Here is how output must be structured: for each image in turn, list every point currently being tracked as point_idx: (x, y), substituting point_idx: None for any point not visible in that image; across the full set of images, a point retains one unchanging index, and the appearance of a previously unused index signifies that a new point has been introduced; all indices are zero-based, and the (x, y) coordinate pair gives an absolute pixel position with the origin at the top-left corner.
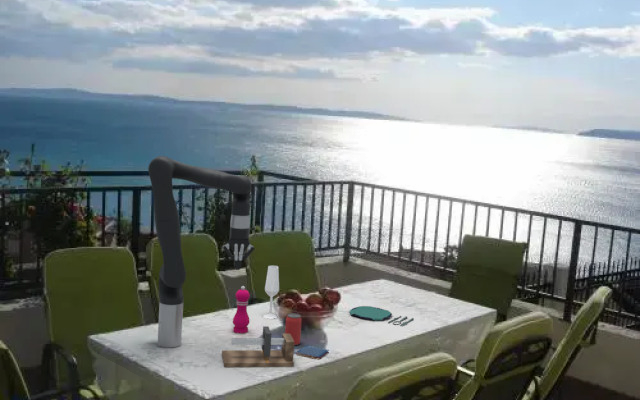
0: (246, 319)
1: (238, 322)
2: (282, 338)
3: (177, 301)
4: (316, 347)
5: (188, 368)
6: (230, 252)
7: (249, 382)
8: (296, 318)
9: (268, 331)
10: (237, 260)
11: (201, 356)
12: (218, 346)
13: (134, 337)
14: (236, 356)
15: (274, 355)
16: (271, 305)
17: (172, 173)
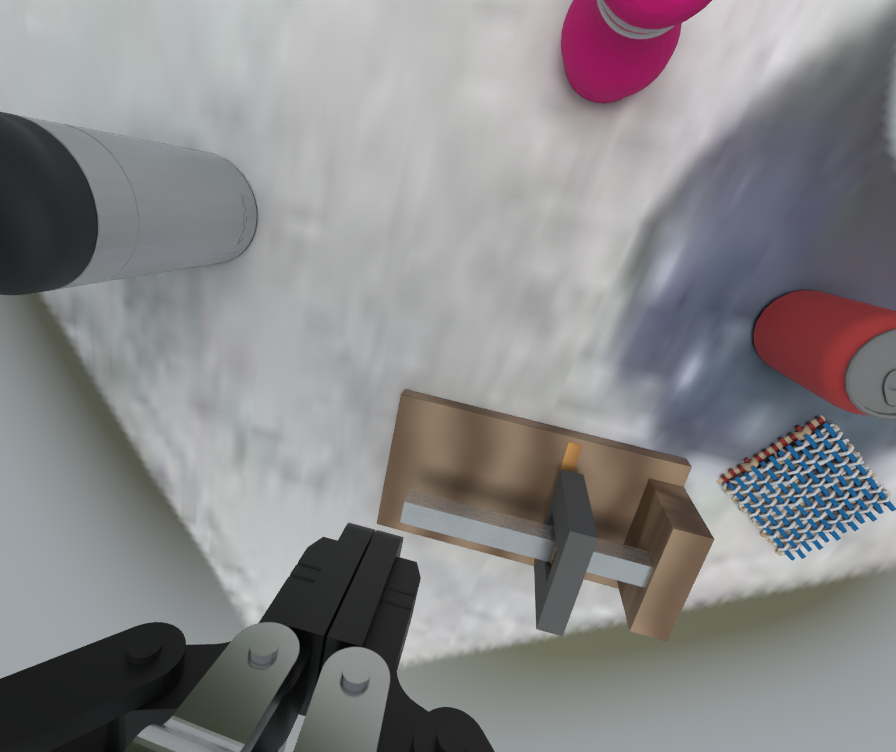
0: (641, 81)
1: (582, 84)
2: (641, 571)
3: (42, 290)
4: (857, 463)
5: (259, 489)
6: (41, 740)
7: (426, 644)
8: (882, 415)
9: (561, 606)
10: (300, 702)
11: (320, 391)
12: (415, 289)
13: (56, 68)
14: (440, 473)
15: (598, 506)
16: None
17: None
